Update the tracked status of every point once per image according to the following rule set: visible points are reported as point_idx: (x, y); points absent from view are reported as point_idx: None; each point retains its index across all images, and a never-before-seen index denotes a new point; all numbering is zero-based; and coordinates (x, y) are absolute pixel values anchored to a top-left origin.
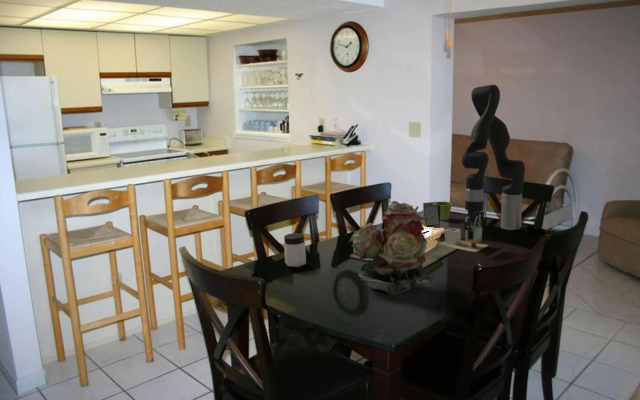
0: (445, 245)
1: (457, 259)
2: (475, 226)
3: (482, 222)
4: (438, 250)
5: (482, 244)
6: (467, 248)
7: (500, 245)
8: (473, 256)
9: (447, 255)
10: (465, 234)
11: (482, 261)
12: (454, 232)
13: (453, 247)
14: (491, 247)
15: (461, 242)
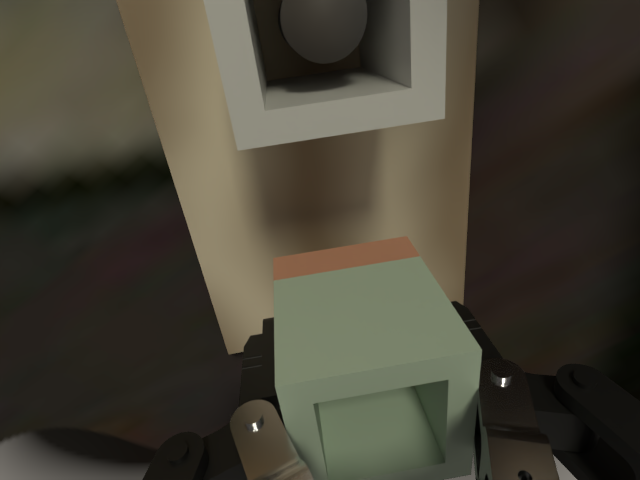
0: (146, 25)
1: (23, 323)
2: (447, 419)
3: (600, 466)
4: (19, 18)
5: (449, 274)
6: (257, 261)
7: (553, 316)
8: (189, 348)
9: (6, 207)
10: (274, 307)
11: (157, 431)
12: (236, 133)
13: (170, 151)
14: (472, 306)
15: None
